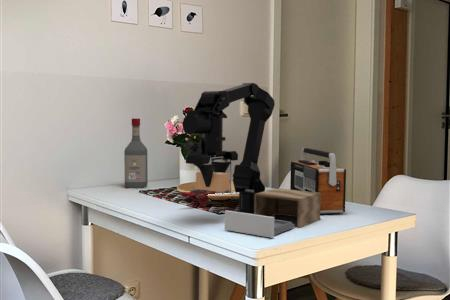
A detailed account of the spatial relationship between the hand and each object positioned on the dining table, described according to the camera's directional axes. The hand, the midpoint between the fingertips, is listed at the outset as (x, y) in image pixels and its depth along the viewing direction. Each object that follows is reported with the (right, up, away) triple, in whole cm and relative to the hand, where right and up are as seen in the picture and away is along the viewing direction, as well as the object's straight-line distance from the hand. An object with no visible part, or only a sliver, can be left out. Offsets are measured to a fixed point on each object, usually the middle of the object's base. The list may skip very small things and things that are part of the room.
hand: (212, 186), depth 146 cm
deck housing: (+23, -11, +2) cm, 25 cm away
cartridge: (0, -1, 0) cm, 1 cm away
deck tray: (+14, -11, -10) cm, 20 cm away
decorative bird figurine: (-5, -9, +23) cm, 25 cm away
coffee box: (+1, -8, +38) cm, 39 cm away
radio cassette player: (+35, -10, +24) cm, 44 cm away
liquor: (-35, -6, +69) cm, 77 cm away
